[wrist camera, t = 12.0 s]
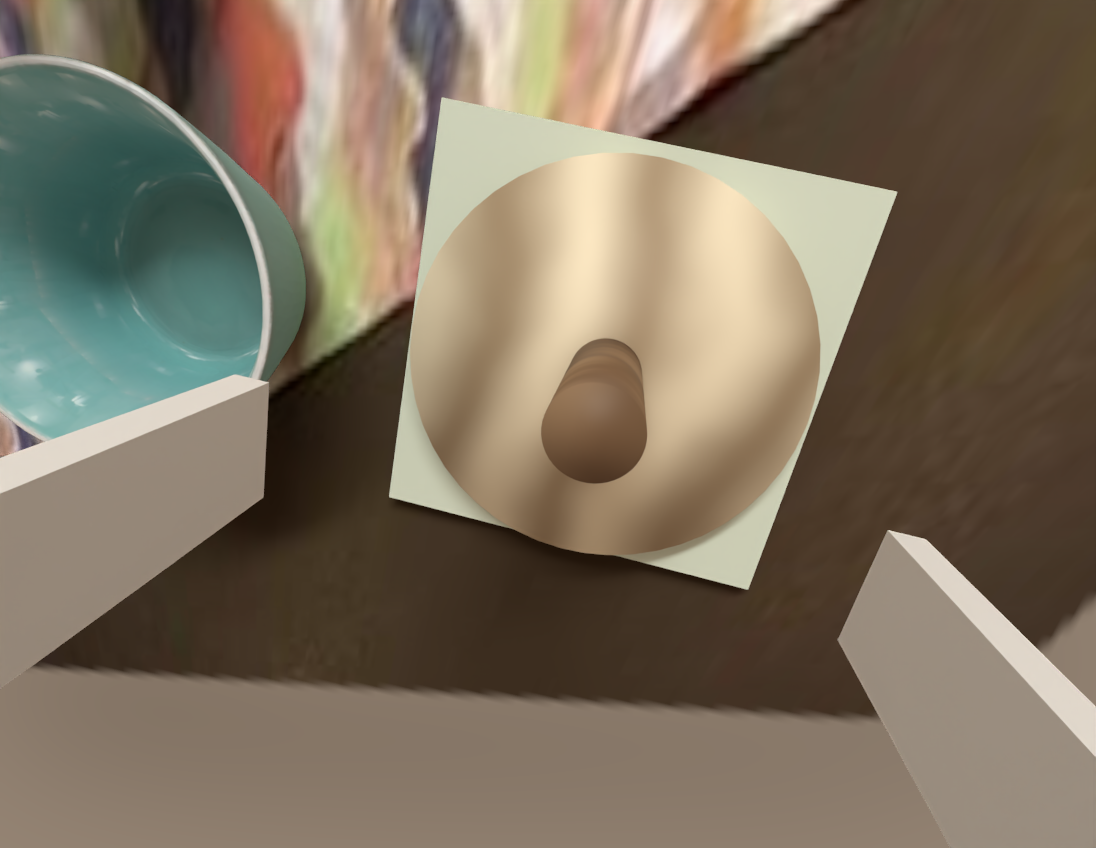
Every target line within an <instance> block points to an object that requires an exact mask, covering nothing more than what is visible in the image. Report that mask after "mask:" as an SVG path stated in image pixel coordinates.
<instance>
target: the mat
mask: <svg viewBox="0 0 1096 848" xmlns="http://www.w3.org/2000/svg"><path fill="white" fill-rule="evenodd" d="M597 153H636V154H643V155H649V156H656V157H662V158H666V159H669V160H672V161H676V162H679V163H682V164H686V165H689V166H692V167H694V168H696V169H698V170H700V171H702V172H704V173H707V174H709V175H711V176H713V177H715V178H717V179H719V180H721V181H722V182H724V183H725V184H727V185H728V186H730V187H731V188H733V189H734V190H736V191H737V192H739V193H740V194H742V195H743V196H744V197H745V198H746V199H748V200H749V201H750V202H751V203H752V204H753V205H754V206H755V207H756V208H758V209H759V210H760V211H761V212H762V213H763V214H764V215H765V216H766V217H767V218H768V219H769V221H770V222H771V223H772V224H773V225H774V227H775V228H776V229H777V230H778V231H779V233H780V234H781V235H782V236H783V237H784V239H785V241H786V242H787V244H788V246H789V247H790V249H791V250H792V252H793V254H794V255H795V257H796V259H797V260H798V262H799V264H800V266H801V269H802V271H803V273H804V276H805V278H806V281H807V283H808V285H809V288H810V290H811V294H812V298H813V302H814V306H815V310H816V313H817V318H818V327H819V335H820V344H821V346H820V374H819V380H818V386H817V391H816V397H815V401H814V405H813V408H812V411H811V414H810V417H809V421H808V424H807V426H806V428H805V431H804V433H803V435H802V437H801V439H800V441H799V443H798V445H797V448H796V450H795V451H794V453H793V454H792V456H791V457H790V459H789V460H788V462H787V464H786V465H785V467H784V468H783V470H782V471H781V473H780V474H779V475H778V476H777V477H776V479H775V480H774V481H773V482H772V483H771V484H770V486H769V487H768V488H767V489H766V490H765V492H763V493H762V494H761V495H760V496H759V497H758V498H757V499H756V500H755V501H754V502H753V503H751V504H750V505H749V506H748V507H747V508H746V509H745V510H743V511H742V512H741V513H739V514H738V515H736V516H735V517H734V518H732V519H731V520H729V521H728V522H726V523H725V524H723V525H721V526H720V527H718V528H716V529H714V530H712V531H710V532H709V533H707V534H705V535H703V536H701V537H698V538H695V539H693V540H690V541H688V542H685V543H683V544H680V545H677V546H673V547H669V548H665V549H662V550H658V551H653V552H646V553H638V554H630V555H615V556H619V557H623V558H627V559H631V560H635V561H639V562H642V563H646V564H650V565H654V566H658V567H662V568H666V569H669V570H673V571H677V572H681V573H685V574H689V575H693V576H697V577H700V578H704V579H708V580H712V581H716V582H720V583H724V584H727V585H731V586H735V587H739V588H743V589H747V590H748V588H749V586H750V583H751V580H752V578H753V575H754V572H755V570H756V567H757V564H758V562H759V559H760V556H761V554H762V551H763V549H764V546H765V543H766V541H767V538H768V535H769V533H770V530H771V527H772V525H773V522H774V519H775V517H776V514H777V511H778V509H779V506H780V503H781V501H782V498H783V495H784V493H785V490H786V487H787V485H788V482H789V479H790V477H791V474H792V471H793V469H794V466H795V463H796V461H797V458H798V455H799V453H800V450H801V447H802V445H803V442H804V439H805V437H806V434H807V431H808V429H809V426H810V423H811V421H812V418H813V415H814V413H815V410H816V407H817V405H818V402H819V399H820V397H821V394H822V391H823V389H824V386H825V383H826V381H827V378H828V375H829V373H830V370H831V368H832V365H833V362H834V360H835V357H836V354H837V352H838V349H839V346H840V344H841V341H842V338H843V336H844V333H845V330H846V328H847V325H848V322H849V320H850V317H851V314H852V312H853V309H854V306H855V304H856V301H857V298H858V296H859V293H860V290H861V288H862V285H863V282H864V280H865V277H866V274H867V272H868V269H869V266H870V264H871V261H872V258H873V256H874V253H875V250H876V248H877V245H878V242H879V240H880V237H881V234H882V232H883V229H884V226H885V224H886V221H887V218H888V216H889V213H890V210H891V208H892V205H893V202H894V200H895V197H896V194H897V192H896V191H891V190H886V189H881V188H877V187H872V186H867V185H862V184H857V183H853V182H848V181H843V180H838V179H833V178H828V177H824V176H819V175H814V174H809V173H804V172H799V171H795V170H790V169H785V168H780V167H775V166H771V165H766V164H761V163H756V162H751V161H746V160H742V159H737V158H732V157H727V156H722V155H717V154H713V153H708V152H703V151H698V150H693V149H688V148H684V147H679V146H674V145H669V144H664V143H660V142H655V141H650V140H645V139H640V138H635V137H631V136H626V135H621V134H616V133H611V132H606V131H602V130H597V129H592V128H587V127H582V126H577V125H573V124H568V123H563V122H558V121H553V120H549V119H544V118H539V117H534V116H529V115H524V114H520V113H515V112H510V111H505V110H500V109H495V108H491V107H486V106H481V105H476V104H471V103H466V102H462V101H457V100H452V99H447V98H442V99H441V107H440V115H439V122H438V130H437V137H436V145H435V153H434V160H433V168H432V175H431V183H430V190H429V198H428V206H427V213H426V221H425V228H424V236H423V244H422V251H421V259H420V266H419V274H418V281H417V289H416V297H415V304H414V312H413V319H414V314H415V310H416V305H417V301H418V298H419V295H420V292H421V289H422V286H423V284H424V281H425V278H426V275H427V273H428V272H429V270H430V268H431V266H432V264H433V262H434V260H435V258H436V256H437V254H438V252H439V251H440V249H441V248H442V246H443V245H444V243H445V242H446V241H447V239H448V238H449V236H450V235H451V233H452V232H453V230H454V229H455V228H456V227H457V226H458V225H459V224H460V223H461V222H462V221H463V219H464V218H465V217H466V216H467V215H468V214H469V213H470V212H471V211H472V210H473V209H474V208H475V207H476V206H477V205H479V204H480V203H481V202H482V201H483V200H485V199H486V198H487V197H488V196H490V195H491V194H492V193H493V192H494V191H496V190H498V189H499V188H501V187H502V186H504V185H506V184H507V183H509V182H510V181H512V180H514V179H515V178H517V177H519V176H521V175H523V174H525V173H528V172H530V171H532V170H534V169H537V168H539V167H541V166H543V165H546V164H550V163H553V162H557V161H560V160H564V159H567V158H571V157H575V156H583V155H590V154H597ZM413 319H412V324H413ZM411 332H412V327H411ZM410 345H411V335H410V342H409V350H408V357H407V365H406V372H405V380H404V388H403V395H402V403H401V410H400V418H399V426H398V433H397V441H396V448H395V456H394V463H393V471H392V479H391V486H390V494H389V497H391V498H395V499H399V500H403V501H407V502H410V503H414V504H418V505H422V506H426V507H430V508H434V509H437V510H441V511H445V512H449V513H453V514H457V515H461V516H465V517H468V518H472V519H476V520H480V521H484V522H488V523H492V524H495V525H499V526H503V527H507V528H511V527H509V526H508V525H506V524H505V523H503V522H501V521H500V520H498V519H497V518H495V517H494V516H492V515H491V514H490V513H489V512H487V511H486V510H485V509H484V508H482V507H481V506H480V505H479V504H477V503H476V502H475V501H474V500H473V499H472V498H471V497H470V496H469V495H468V494H467V493H466V492H465V491H464V490H463V489H462V488H461V487H460V486H459V484H458V483H457V482H456V481H455V479H454V478H453V477H452V475H451V474H450V473H449V472H448V470H447V469H446V468H445V466H444V465H443V463H442V461H441V460H440V458H439V456H438V455H437V453H436V451H435V450H434V448H433V446H432V444H431V442H430V440H429V437H428V435H427V433H426V431H425V429H424V426H423V424H422V421H421V417H420V414H419V411H418V408H417V404H416V401H415V396H414V390H413V384H412V379H411V363H410ZM511 529H513V528H511Z"/></svg>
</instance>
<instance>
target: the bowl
mask: <svg viewBox="0 0 1096 848" xmlns="http://www.w3.org/2000/svg"><path fill="white" fill-rule="evenodd" d="M305 300H306V279H305V269H304V264H303V260H302V255H301V252H300V249H299V245H298V243H297V240H296V238H295V235H294V233H293V231H292V229H291V227H290V225H289V223H288V221H287V219H286V217H285V216H284V214H283V212H282V211H281V209H280V208H279V206H278V205H277V204H276V203H275V201H274V200H273V199H272V198H271V196H270V195H269V194H268V193H267V192H266V191H265V190H264V188H263V187H262V186H261V185H260V184H259V183H257V182H256V181H255V180H254V179H253V178H252V177H251V176H250V175H248V174H247V173H246V172H245V171H244V170H243V169H242V168H241V167H240V166H239V165H238V164H237V163H236V162H235V161H233V160H232V159H231V158H230V157H229V156H228V155H227V154H226V153H225V152H224V151H222V150H221V149H220V148H219V147H218V146H217V145H215V144H214V143H213V142H212V141H211V140H209V139H208V138H207V137H206V136H205V135H204V134H202V133H201V132H200V131H199V130H198V129H196V128H195V127H194V126H193V125H192V124H190V123H189V122H188V121H187V120H186V119H184V118H183V117H182V116H181V115H179V114H178V113H177V112H176V111H174V110H173V109H172V108H171V107H169V106H168V105H167V104H165V103H164V102H163V101H161V100H160V99H159V98H157V97H156V96H155V95H153V94H152V93H150V92H149V91H147V90H145V89H144V88H142V87H141V86H139V85H137V84H135V83H134V82H132V81H130V80H128V79H127V78H124V77H122V76H120V75H118V74H116V73H114V72H112V71H109V70H107V69H104V68H101V67H99V66H96V65H93V64H90V63H87V62H84V61H80V60H76V59H72V58H66V57H61V56H54V55H41V54H25V55H16V56H10V57H2V58H0V412H1V413H2V414H4V415H5V416H6V417H7V418H8V419H10V420H11V421H12V422H14V423H15V424H16V425H18V426H19V427H21V428H22V429H23V430H25V431H26V432H28V433H30V434H31V435H33V436H35V437H37V438H38V439H40V440H42V441H44V442H46V441H49V440H52V439H54V438H57V437H60V436H63V435H66V434H69V433H71V432H74V431H77V430H80V429H83V428H85V427H88V426H91V425H94V424H97V423H99V422H102V421H105V420H108V419H111V418H114V417H116V416H119V415H122V414H125V413H128V412H130V411H133V410H136V409H139V408H142V407H145V406H147V405H150V404H153V403H156V402H159V401H161V400H164V399H167V398H170V397H173V396H176V395H178V394H181V393H184V392H187V391H190V390H192V389H195V388H198V387H201V386H204V385H206V384H209V383H212V382H215V381H218V380H221V379H223V378H226V377H229V376H232V375H235V374H236V375H240V376H244V377H248V378H253V379H257V380H261V381H265V382H267V381H268V379H269V378H270V376H271V375H272V374H273V372H274V371H275V369H276V368H277V366H278V365H279V363H280V361H281V360H282V358H283V357H284V355H285V353H286V352H287V350H288V349H289V347H290V346H291V344H292V342H293V341H294V339H295V337H296V334H297V332H298V330H299V327H300V324H301V321H302V317H303V313H304V308H305Z"/></svg>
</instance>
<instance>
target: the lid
mask: <svg viewBox="0 0 1096 848" xmlns="http://www.w3.org/2000/svg"><path fill="white" fill-rule="evenodd" d="M820 346H821V344H820V335H819V327H818V318H817V313H816V310H815V306H814V302H813V298H812V294H811V290H810V288H809V285H808V283H807V281H806V278H805V276H804V273H803V271H802V269H801V266H800V264H799V262H798V260H797V259H796V257H795V255H794V254H793V252H792V250H791V249H790V247H789V246H788V244H787V242H786V241H785V239H784V237H783V236H782V235H781V234H780V233H779V231H778V230H777V229H776V228H775V227H774V225H773V224H772V223H771V222H770V221H769V219H768V218H767V217H766V216H765V215H764V214H763V213H762V212H761V211H760V210H759V209H758V208H756V207H755V206H754V205H753V204H752V203H751V202H750V201H749V200H748V199H746V198H745V197H744V196H743V195H742V194H740V193H739V192H737V191H736V190H734V189H733V188H731V187H730V186H728V185H727V184H725V183H724V182H722V181H721V180H719V179H717V178H715V177H713V176H711V175H709V174H707V173H704V172H702V171H700V170H698V169H696V168H694V167H692V166H689V165H686V164H682V163H679V162H676V161H672V160H669V159H666V158H662V157H656V156H649V155H643V154H636V153H597V154H590V155H583V156H575V157H571V158H567V159H564V160H560V161H557V162H553V163H550V164H546V165H543V166H541V167H539V168H537V169H534V170H532V171H530V172H528V173H525V174H523V175H521V176H519V177H517V178H515V179H514V180H512V181H510V182H509V183H507V184H506V185H504V186H502V187H501V188H499V189H498V190H496V191H494V192H493V193H492V194H491V195H490V196H488V197H487V198H486V199H485V200H483V201H482V202H481V203H480V204H479V205H477V206H476V207H475V208H474V209H473V210H472V211H471V212H470V213H469V214H468V215H467V216H466V217H465V218H464V219H463V221H462V222H461V223H460V224H459V225H458V226H457V227H456V228H455V229H454V230H453V232H452V233H451V235H450V236H449V238H448V239H447V241H446V242H445V243H444V245H443V246H442V248H441V249H440V251H439V252H438V254H437V256H436V258H435V260H434V262H433V264H432V266H431V268H430V270H429V272H428V273H427V275H426V278H425V281H424V284H423V286H422V289H421V292H420V295H419V298H418V301H417V305H416V310H415V314H414V319H413V324H412V332H411V345H410V363H411V379H412V384H413V390H414V396H415V401H416V404H417V408H418V411H419V414H420V417H421V421H422V424H423V426H424V429H425V431H426V433H427V435H428V437H429V440H430V442H431V444H432V446H433V448H434V450H435V451H436V453H437V455H438V456H439V458H440V460H441V461H442V463H443V465H444V466H445V468H446V469H447V470H448V472H449V473H450V474H451V475H452V477H453V478H454V479H455V481H456V482H457V483H458V484H459V486H460V487H461V488H462V489H463V490H464V491H465V492H466V493H467V494H468V495H469V496H470V497H471V498H472V499H473V500H474V501H475V502H476V503H477V504H479V505H480V506H481V507H482V508H484V509H485V510H486V511H487V512H489V513H490V514H491V515H492V516H494V517H495V518H497V519H498V520H500V521H501V522H503V523H505V524H506V525H508V526H509V527H511V528H513V529H514V530H516V531H518V532H520V533H522V534H525V535H527V536H529V537H531V538H533V539H535V540H538V541H541V542H544V543H547V544H550V545H553V546H556V547H559V548H563V549H567V550H572V551H577V552H582V553H590V554H601V555H630V554H638V553H646V552H653V551H658V550H662V549H665V548H669V547H673V546H677V545H680V544H683V543H685V542H688V541H690V540H693V539H695V538H698V537H701V536H703V535H705V534H707V533H709V532H710V531H712V530H714V529H716V528H718V527H720V526H721V525H723V524H725V523H726V522H728V521H729V520H731V519H732V518H734V517H735V516H736V515H738V514H739V513H741V512H742V511H743V510H745V509H746V508H747V507H748V506H749V505H750V504H751V503H753V502H754V501H755V500H756V499H757V498H758V497H759V496H760V495H761V494H762V493H763V492H765V490H766V489H767V488H768V487H769V486H770V484H771V483H772V482H773V481H774V480H775V479H776V477H777V476H778V475H779V474H780V473H781V471H782V470H783V468H784V467H785V465H786V464H787V462H788V460H789V459H790V457H791V456H792V454H793V453H794V451H795V450H796V448H797V445H798V443H799V441H800V439H801V437H802V435H803V433H804V431H805V428H806V426H807V424H808V421H809V417H810V414H811V411H812V408H813V405H814V401H815V397H816V391H817V386H818V380H819V374H820Z"/></svg>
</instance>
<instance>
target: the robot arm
mask: <svg viewBox="0 0 1096 848" xmlns="http://www.w3.org/2000/svg"><path fill="white" fill-rule="evenodd" d="M268 398H269V382H265V381H261V380H257V379H253V378H248V377H244V376H240V375H236V374H235V375H232V376H229V377H226V378H223V379H221V380H218V381H215V382H212V383H209V384H206V385H204V386H201V387H198V388H195V389H192V390H190V391H187V392H184V393H181V394H178V395H176V396H173V397H170V398H167V399H164V400H161V401H159V402H156V403H153V404H150V405H147V406H145V407H142V408H139V409H136V410H133V411H130V412H128V413H125V414H122V415H119V416H116V417H114V418H111V419H108V420H105V421H102V422H99V423H97V424H94V425H91V426H88V427H85V428H83V429H80V430H77V431H74V432H71V433H69V434H66V435H63V436H60V437H57V438H54V439H52V440H49V441H46V442H43V443H40V444H38V445H35V446H32V447H29V448H26V449H23V450H21V451H18V452H15V453H12V454H9V455H7V456H2V457H0V689H1V688H3V687H4V686H5V685H7V684H8V683H9V682H11V681H12V680H13V679H15V678H16V677H17V676H19V675H20V674H22V673H23V672H24V671H26V670H27V669H29V668H30V667H31V666H33V665H34V664H35V663H37V662H38V661H40V660H41V659H42V658H44V657H45V656H46V655H48V654H49V653H51V652H52V651H53V650H55V649H56V648H57V647H59V646H60V645H62V644H63V643H64V642H66V641H67V640H68V639H70V638H71V637H73V636H74V635H75V634H77V633H78V632H79V631H81V630H82V629H83V628H85V627H86V626H88V625H89V624H90V623H92V622H93V621H94V620H96V619H97V618H99V617H100V616H101V615H103V614H104V613H105V612H107V611H108V610H110V609H111V608H112V607H114V606H115V605H116V604H118V603H119V602H121V601H122V600H123V599H125V598H126V597H127V596H129V595H130V594H132V593H133V592H134V591H136V590H137V589H138V588H140V587H141V586H142V585H144V584H145V583H147V582H148V581H149V580H151V579H152V578H153V577H155V576H156V575H158V574H159V573H160V572H162V571H163V570H164V569H166V568H167V567H169V566H170V565H171V564H173V563H174V562H175V561H177V560H178V559H180V558H181V557H182V556H184V555H185V554H186V553H188V552H189V551H191V550H192V549H193V548H195V547H196V546H197V545H199V544H200V543H202V542H203V541H204V540H206V539H207V538H208V537H210V536H211V535H212V534H214V533H215V532H217V531H218V530H219V529H221V528H222V527H223V526H225V525H226V524H228V523H229V522H230V521H232V520H233V519H234V518H236V517H237V516H239V515H240V514H241V513H243V512H244V511H245V510H247V509H248V508H250V507H251V506H252V505H254V504H255V503H256V502H258V501H259V500H261V499H262V498H263V497H264V479H265V458H266V438H267V418H268ZM838 641H839V643H840V645H841V647H842V649H843V651H844V653H845V654H846V656H847V658H848V660H849V662H850V664H851V665H852V667H853V669H854V671H855V673H856V675H857V677H858V678H859V680H860V682H861V684H862V686H863V688H864V689H865V691H866V693H867V695H868V697H869V699H870V701H871V702H872V704H873V706H874V708H875V710H876V712H877V713H878V715H879V717H880V719H881V721H882V723H883V725H884V726H885V728H886V730H887V732H888V734H889V735H890V737H891V739H892V741H893V743H894V745H895V747H896V749H897V750H898V752H899V754H900V756H901V758H902V760H903V761H904V763H905V765H906V767H907V769H908V771H909V773H910V774H911V776H912V778H913V780H914V782H915V784H916V785H917V787H918V789H919V791H920V793H921V795H922V796H923V798H924V800H925V802H926V804H927V805H928V808H929V809H930V811H931V813H932V815H933V817H934V819H935V820H936V822H937V824H938V826H939V828H940V830H941V832H942V833H943V835H944V837H945V839H946V841H947V843H948V845H949V846H950V848H1096V707H1095V705H1094V704H1092V703H1091V702H1090V701H1089V700H1088V699H1087V698H1086V697H1085V696H1084V695H1083V694H1082V693H1081V692H1080V691H1079V690H1078V689H1077V688H1076V687H1075V686H1074V685H1073V684H1072V683H1071V682H1070V681H1069V680H1068V679H1067V678H1066V677H1065V676H1064V675H1063V674H1062V673H1061V672H1060V671H1059V670H1058V669H1057V668H1056V667H1055V666H1054V665H1053V664H1052V663H1051V662H1050V661H1049V660H1048V659H1047V658H1046V657H1045V656H1044V655H1043V654H1042V653H1041V652H1040V651H1039V650H1038V649H1037V648H1036V647H1035V646H1034V645H1033V644H1032V643H1031V642H1030V641H1029V640H1028V639H1027V638H1026V637H1025V636H1024V635H1022V634H1021V633H1020V632H1019V631H1018V630H1017V629H1016V628H1015V627H1014V626H1013V625H1012V624H1011V623H1010V622H1009V621H1008V620H1007V619H1006V618H1005V617H1004V616H1003V615H1002V614H1001V613H1000V612H999V611H998V610H997V609H996V608H995V607H994V606H993V605H992V604H991V603H990V602H989V601H988V600H987V599H986V598H985V597H984V596H983V595H982V594H981V593H980V592H979V591H978V590H977V589H976V588H975V587H974V586H973V585H972V584H971V583H970V582H969V581H968V580H967V579H966V578H965V577H964V576H963V575H962V574H961V573H960V572H959V571H958V570H957V569H956V568H955V567H953V566H952V565H951V564H950V563H949V562H948V561H947V560H946V559H945V558H944V557H943V556H942V555H941V554H940V553H939V552H938V551H937V550H936V549H935V548H934V547H933V546H932V545H931V544H930V543H929V542H928V541H927V540H926V539H923V538H919V537H914V536H910V535H906V534H902V533H898V532H893V531H889V530H888V531H887V533H886V535H885V537H884V539H883V542H882V544H881V546H880V548H879V550H878V553H877V555H876V557H875V559H874V561H873V564H872V566H871V568H870V570H869V572H868V575H867V577H866V579H865V581H864V583H863V586H862V588H861V590H860V592H859V594H858V597H857V599H856V601H855V603H854V605H853V608H852V610H851V612H850V614H849V616H848V619H847V621H846V623H845V625H844V627H843V630H842V632H841V634H840V636H839V638H838Z"/></svg>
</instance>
